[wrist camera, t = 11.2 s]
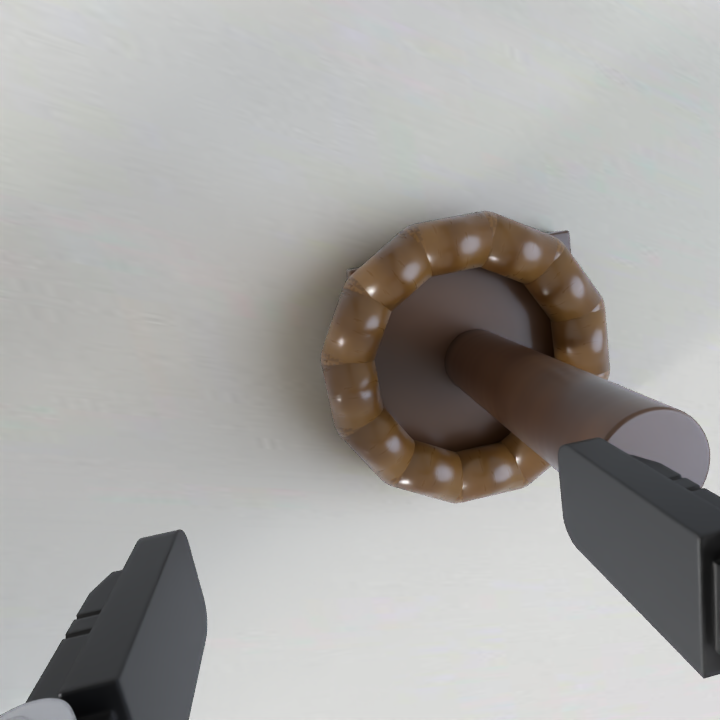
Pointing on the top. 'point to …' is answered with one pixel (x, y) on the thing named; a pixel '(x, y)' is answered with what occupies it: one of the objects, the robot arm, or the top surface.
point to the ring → (396, 283)
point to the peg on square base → (513, 379)
